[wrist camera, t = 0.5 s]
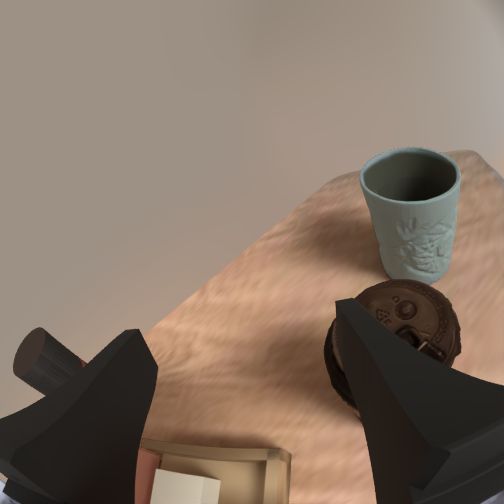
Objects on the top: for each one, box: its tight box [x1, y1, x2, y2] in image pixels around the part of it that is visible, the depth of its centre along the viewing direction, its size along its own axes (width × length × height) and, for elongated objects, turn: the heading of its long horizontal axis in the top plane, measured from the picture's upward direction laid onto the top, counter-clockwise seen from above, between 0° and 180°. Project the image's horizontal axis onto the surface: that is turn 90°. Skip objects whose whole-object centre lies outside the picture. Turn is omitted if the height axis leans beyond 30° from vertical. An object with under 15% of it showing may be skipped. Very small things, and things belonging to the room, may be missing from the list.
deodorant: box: [13, 327, 87, 396], centre depth 27 cm, size 6×6×15 cm
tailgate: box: [135, 449, 161, 504], centre depth 20 cm, size 9×1×6 cm, turn 175°
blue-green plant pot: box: [360, 147, 461, 285], centre depth 28 cm, size 10×10×12 cm
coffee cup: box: [324, 279, 461, 421], centre depth 18 cm, size 9×8×13 cm
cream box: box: [150, 469, 221, 504], centre depth 19 cm, size 6×5×3 cm
